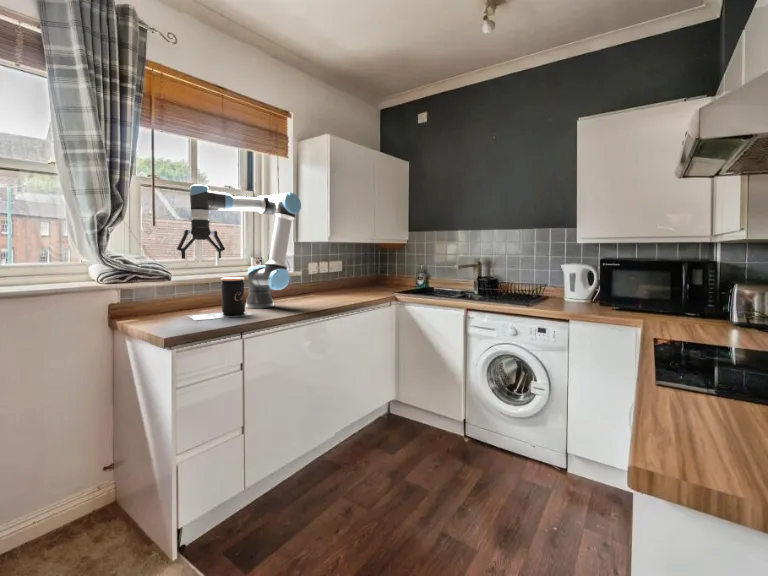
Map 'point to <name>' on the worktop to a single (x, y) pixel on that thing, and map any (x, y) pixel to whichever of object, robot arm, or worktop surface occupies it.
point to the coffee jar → (233, 296)
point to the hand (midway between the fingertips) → (202, 265)
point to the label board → (214, 316)
